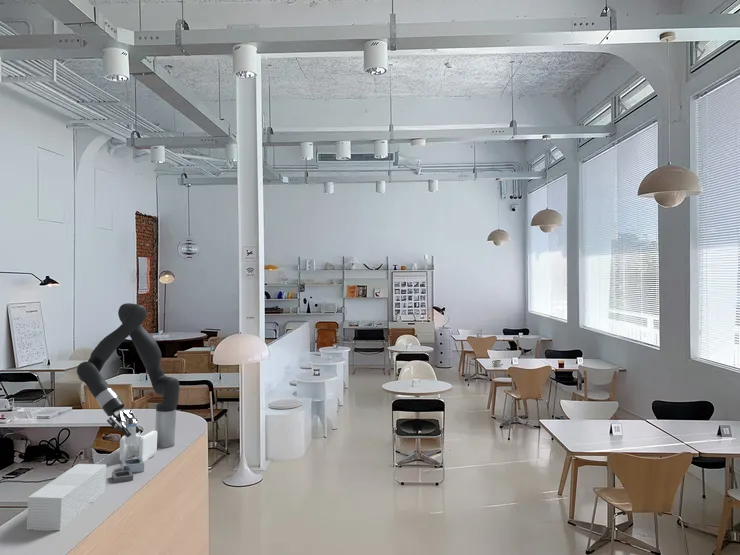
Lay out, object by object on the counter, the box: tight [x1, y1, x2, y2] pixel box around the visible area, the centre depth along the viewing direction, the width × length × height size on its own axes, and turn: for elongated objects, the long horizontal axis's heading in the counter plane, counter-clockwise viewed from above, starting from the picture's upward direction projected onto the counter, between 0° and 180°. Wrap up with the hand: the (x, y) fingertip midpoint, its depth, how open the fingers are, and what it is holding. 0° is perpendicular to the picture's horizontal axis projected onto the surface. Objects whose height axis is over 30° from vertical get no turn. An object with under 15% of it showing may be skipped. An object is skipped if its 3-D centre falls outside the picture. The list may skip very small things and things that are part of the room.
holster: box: [111, 470, 134, 484], centre depth 223 cm, size 7×7×2 cm
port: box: [120, 457, 145, 474], centre depth 233 cm, size 8×8×4 cm
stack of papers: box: [26, 463, 107, 531], centre depth 194 cm, size 32×11×11 cm, turn 1°
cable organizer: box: [119, 430, 158, 463], centre depth 248 cm, size 15×11×12 cm
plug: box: [124, 417, 137, 445], centre depth 228 cm, size 4×4×10 cm
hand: (134, 433), depth 227 cm, fingers closed on plug, 5 cm apart
